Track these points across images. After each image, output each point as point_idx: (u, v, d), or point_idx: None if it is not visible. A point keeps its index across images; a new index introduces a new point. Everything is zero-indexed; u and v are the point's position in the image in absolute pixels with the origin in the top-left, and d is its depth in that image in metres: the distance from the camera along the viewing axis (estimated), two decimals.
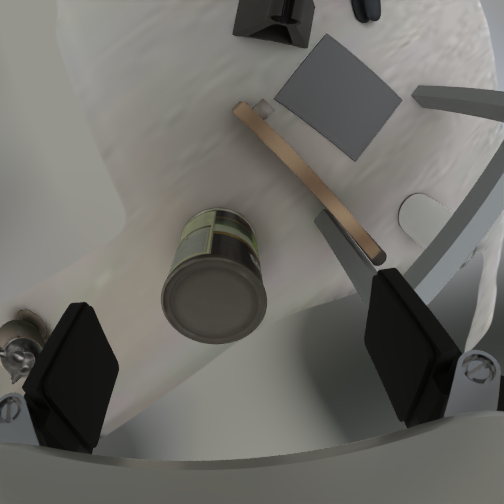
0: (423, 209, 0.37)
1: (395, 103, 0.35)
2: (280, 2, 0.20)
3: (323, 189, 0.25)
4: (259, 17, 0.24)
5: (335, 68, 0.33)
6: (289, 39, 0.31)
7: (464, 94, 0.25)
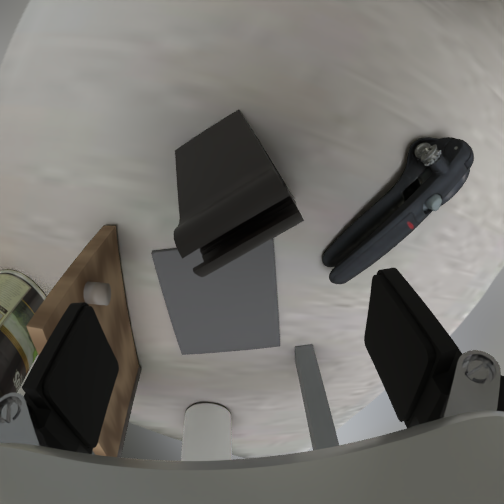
0: (206, 432, 0.35)
1: (269, 344, 0.34)
2: (200, 241, 0.15)
3: None
4: (189, 195, 0.19)
5: (242, 277, 0.30)
6: None
7: (322, 425, 0.25)
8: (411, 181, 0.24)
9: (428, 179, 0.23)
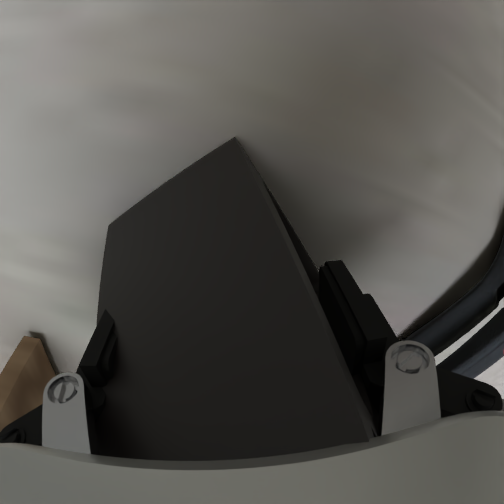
0: None
1: None
2: None
3: None
4: (113, 399, 0.06)
5: None
6: None
7: None
8: None
9: None
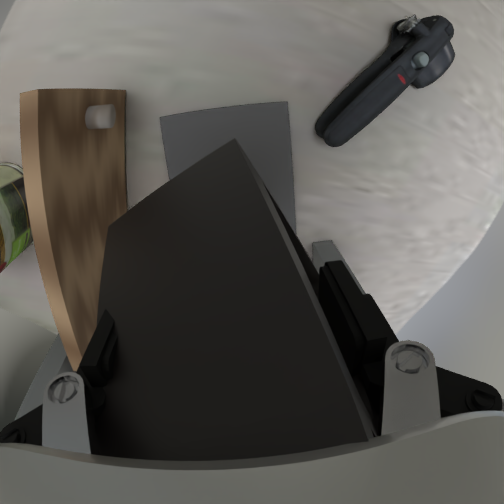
0: None
1: None
2: None
3: (50, 266, 0.15)
4: (113, 401, 0.06)
5: (255, 144, 0.27)
6: None
7: None
8: (397, 49, 0.21)
9: (412, 43, 0.20)
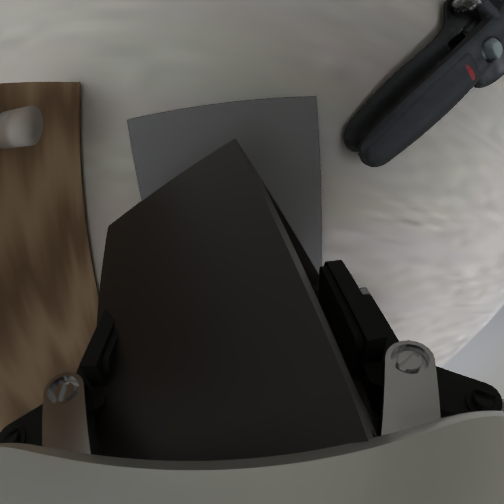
0: None
1: None
2: None
3: None
4: (113, 402, 0.06)
5: (268, 159, 0.18)
6: None
7: None
8: (456, 32, 0.13)
9: (478, 24, 0.11)
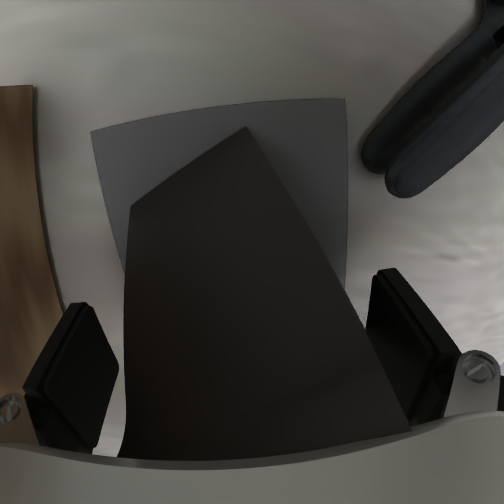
0: None
1: None
2: None
3: None
4: (143, 348, 0.08)
5: None
6: None
7: None
8: (501, 23, 0.08)
9: None
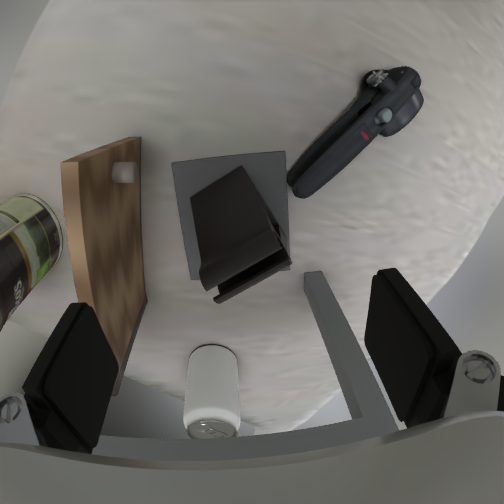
0: (213, 371, 0.35)
1: None
2: (219, 279, 0.22)
3: (89, 304, 0.19)
4: (206, 241, 0.25)
5: None
6: None
7: (340, 332, 0.26)
8: (364, 103, 0.26)
9: (378, 97, 0.25)
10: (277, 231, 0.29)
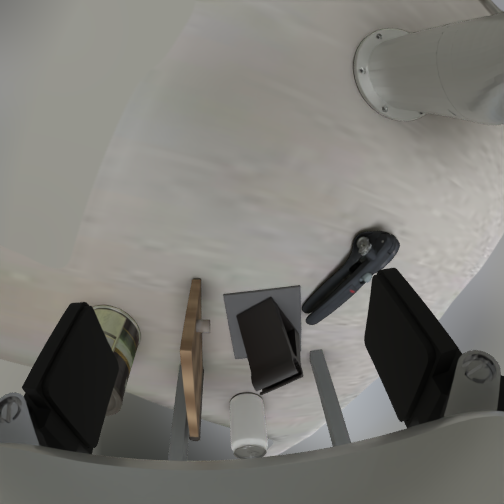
0: (249, 413, 0.51)
1: None
2: (263, 386, 0.38)
3: (192, 404, 0.35)
4: (252, 356, 0.41)
5: None
6: None
7: (330, 399, 0.42)
8: (354, 262, 0.42)
9: (363, 262, 0.40)
10: (294, 341, 0.45)
